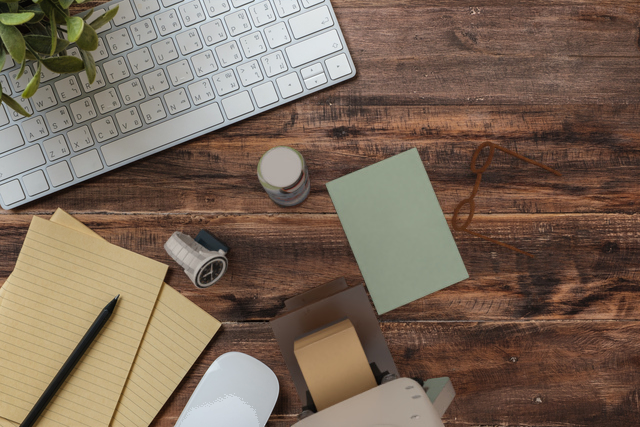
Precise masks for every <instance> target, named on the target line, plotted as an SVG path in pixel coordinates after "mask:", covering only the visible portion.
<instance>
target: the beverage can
mask: <svg viewBox="0 0 640 427" xmlns="http://www.w3.org/2000/svg"><path fill="white" fill-rule="evenodd" d="M256 174H257V178H258V181H259V183H260V185H261V187H262V188H263V190H264V191H265V192H266V194H267V196H268V197H269V199H270V201H271V202H272V203H273V205H275V206H277V207H279V208H281V209H285V210H291V209H296V208H298V207H300V206H302V205H303V204H304V203H305V202H306V201H307V200H308V198H309V196H310V194H311V189H312V188H311V187H312V186H311V181H310V175H309V168H308V165H307V161H306V159H305V157H304V156H303V155H302V153H301V152H300V151H299V150H297V149H296V148H293V147H292V146H291V147H290V146H288V145H277V146H274V147H272V148H269V149H268V150H267V151H265V152H264V153H263V154H262V155H261V157H260V159H259V160H258V163H257V168H256Z"/></svg>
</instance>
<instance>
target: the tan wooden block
mask: <svg viewBox="0 0 640 427" xmlns="http://www.w3.org/2000/svg"><path fill="white" fill-rule="evenodd" d="M294 353H295V356H296V358H297V361H298V363H299V366H300V368H301V371H302V373H303V376H304V378H305V381H306V383H307V386H308V388H309V391H310V393H311V396H312V398H313V401H314V403H315V406H316V408H317V411H318V412H319V411H322V410H324V409H326V408H328V407H331V406H333V405H335V404H338V403H340V402H342V401H344V400H347V399H349V398H351V397H354V396H356V395H358V394H361V393H363V392H365V391H368V390H370V389H372V388H375V387H377V386H378V385H377V383H376V380H375V378H374V375H373V373H372V370H371V368H370V365H369V363H368V360H367V358H366V355H365V353H364V350H363V348H362V346H361V343H360V341H359V338H358V336H357V333H356V331H355V328H354V326H353V325H352V323H351V322H350V320H349V318H348V317H347V316H345V317H342V318H340V319H338V320H335V321H333V322H330V323H328V324H326V325H323V326H321V327H319V328H316V329H314V330H311V331H309V332H307V333H304V334H302V335H300V336H297V337H295V338H294Z"/></svg>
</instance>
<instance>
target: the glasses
mask: <svg viewBox="0 0 640 427" xmlns="http://www.w3.org/2000/svg"><path fill="white" fill-rule="evenodd" d="M486 147H489V154H488V157H487V159H486V161H485V163H484V164H483V165H481V166H482V167H480V168H476V162H477V158H478V157H479V155H480V153H481V151H482V150H483V149H484V148H486ZM495 149H496V150H499V151H501V152H503V153H505V154H507V155H510V156H512V157H514V158H517V159H519V160H521V161H523V162H525V163H529V164H531V165H534V166H536V167H538V168H540V169H544V170H546V171H548V172H550V173H552V174H554V175H555V176H558V177H562V176H563V174H562V173H561V172H560V171H557V170H556V169H554V168H551V167H549V166H547V165H546V164H543V163H541V162H538V161H536V160H534V159H531V158H529V157H526V156H525V155H522V154H520V153H517V152H515V151H513V150H510V149H508V148H506V147H503V146H501V145H499V144H497V143H494V142H492V141H490V140H485V141H483V142H481V144H479V146H478V147H477V148H476V149H475V151H474V153H473V155H472V157H471V161H470V171H471V172H472V173H474V174H476V179H475V182H474V185H473V188H472V192H471V194H470V195H469V197H468V198H465V199H462V200H461V201H459V202H458V204H457V205H456V207H455V209H454V211H453V213H452V218H451V227H452V229H453V230H454V231H456V232H464V233H467V234H470V235H472V236H475V237H477V238H480V239H483V240H485V241H488V242H491V243H493V244H496V245H498V246H502V247H504V248H507V249H509V250H512V251H515V252H517V253H520V254H523V255H525V256H528V257H529V258H532V259H534V258H535V255H534V254H533V253H530V252H528V251H524V250H522V249H519V248H517V247H515V246H512V245H510V244H507V243H504V242H502V241H499V240H497V239H493V238H491V237H488V236H486V235H483V234H481V233H478V232H476V231H473V230H471V229H468V227H469V226H470V224H471V222H472V220H473V218H474V215H475V210H476V203H475V200H474V199H475V197H476V195H477V193H478V190H479V188H480V184H481V182H482V177H483V176H482V175H483V174H484V172H486V170H487V169H488V168H489V166H490V165H491V163H492V161H493V159H494V156H495V151H496V150H495ZM466 204H469V213H468V216H467V218H466V220H465V222H464V223H463V224H462V225H460V226H458V225H457V218H458V215H459V212H460V210H461V209H462V207H463V206H464V205H466Z"/></svg>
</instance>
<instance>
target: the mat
mask: <svg viewBox="0 0 640 427" xmlns="http://www.w3.org/2000/svg"><path fill="white" fill-rule="evenodd" d="M419 153H420V152H419V151H418V149H417V146H415V147H413V148H410V149H407V150H405V151H403V152H400V153H397V154H395V155H392V156H390V157H387V158H385V159H383V160H380V161H377V162H375V163H373V164H370V165H367V166H365V167H363V168H360V169H358V170H355V171H353V172H350V173H347V174H346V175H343V176H341V177H338V178H335V179H332V180H330V181H328V182H326V183H324V184H325V187H326V190H327V192H328V195H329V197H330V200H331V202H332V204H333V207H334V209H335V211H336V214H337V217H338V219H339V222H340V224H341V227H342V229H343V232H344V234H345V237H346V239H347V241H348V244H349V246H350V249H351V251H352V253H353V256H354V259H355V260H356V265H357V266H358V268H359V271H360V273H361V276H362V278H363V281H364V283H365V285H366V288H367V290H368V294H369V295H370V298H371V300H372V303H373V305H374V308H375V310H376V314H377V315H378V316H381V315H383V314H386V313H388V312H390V311H393V310H395V309H397V308H400V307H402V306H405V305H407V304H409V303H412V302H414V301H417V300H420V299H422V298H423V297H426V296H428V295H431V294H433V293H436V292H438V291H440V290H442V289H445V288H447V287H450V286H452V285H454V284H457V283H459V282H461V281H464V280H466V279H469V278H470V275H469V272H468V270H467V267H466V266H465V263H464V261H463V258H462V256H461V254H460V251H459V248H458V246H457V243H456V241H455V238H454V236H453V233H452V232H451V229H450V226H449V224H448V222H447V219H446V217H445V215H444V214H445V213H444V211H443V210H442V207H441V205H440V202H439V200H438V197H437V195H436V192H435V190H434V187H433V185H432V182H431V181H430V180H431V179H430V178H429V175H428V173H427V171H426V168H425V166H424V163H423V161H422V158H421V156H420V154H419Z"/></svg>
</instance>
